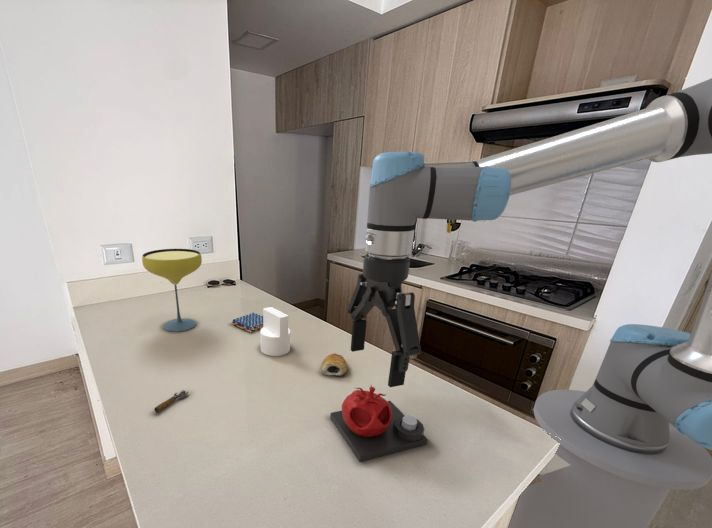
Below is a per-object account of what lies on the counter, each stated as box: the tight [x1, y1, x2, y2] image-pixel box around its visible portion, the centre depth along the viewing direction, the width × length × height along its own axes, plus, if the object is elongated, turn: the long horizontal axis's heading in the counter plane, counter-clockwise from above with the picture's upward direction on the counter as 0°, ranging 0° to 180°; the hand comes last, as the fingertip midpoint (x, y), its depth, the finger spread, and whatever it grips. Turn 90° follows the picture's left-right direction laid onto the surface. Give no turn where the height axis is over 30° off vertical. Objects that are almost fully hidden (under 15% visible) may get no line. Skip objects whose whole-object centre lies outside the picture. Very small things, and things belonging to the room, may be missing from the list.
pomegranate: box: [341, 383, 392, 437], centre depth 68 cm, size 10×10×9 cm
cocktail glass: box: [141, 248, 203, 333], centre depth 114 cm, size 18×18×25 cm
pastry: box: [320, 353, 348, 377], centre depth 93 cm, size 9×7×4 cm
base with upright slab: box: [259, 306, 291, 357], centre depth 101 cm, size 9×9×12 cm
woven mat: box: [231, 312, 263, 333], centre depth 120 cm, size 10×11×2 cm
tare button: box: [401, 415, 418, 431], centre depth 68 cm, size 3×3×2 cm
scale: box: [329, 400, 429, 463], centre depth 70 cm, size 15×13×3 cm
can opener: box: [154, 390, 189, 413], centre depth 78 cm, size 9×2×1 cm, turn 144°
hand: (374, 366), depth 65 cm, fingers open, 13 cm apart
